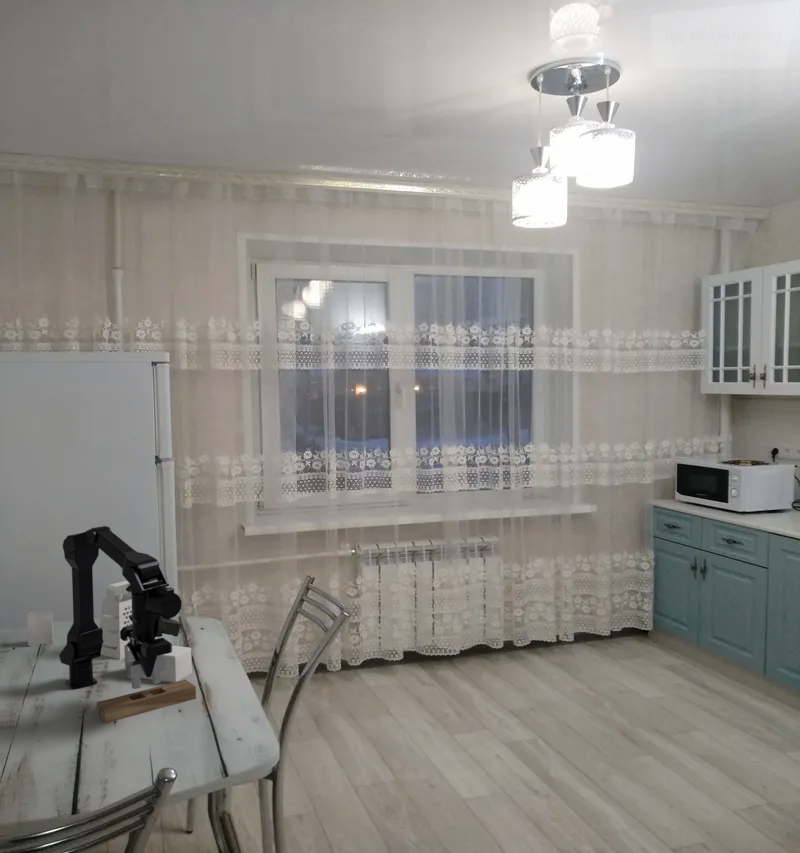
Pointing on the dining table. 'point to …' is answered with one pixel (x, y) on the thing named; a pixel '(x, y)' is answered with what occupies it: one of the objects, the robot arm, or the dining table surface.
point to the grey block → (136, 670)
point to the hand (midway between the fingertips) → (146, 674)
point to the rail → (145, 700)
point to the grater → (115, 620)
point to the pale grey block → (40, 627)
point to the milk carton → (170, 664)
